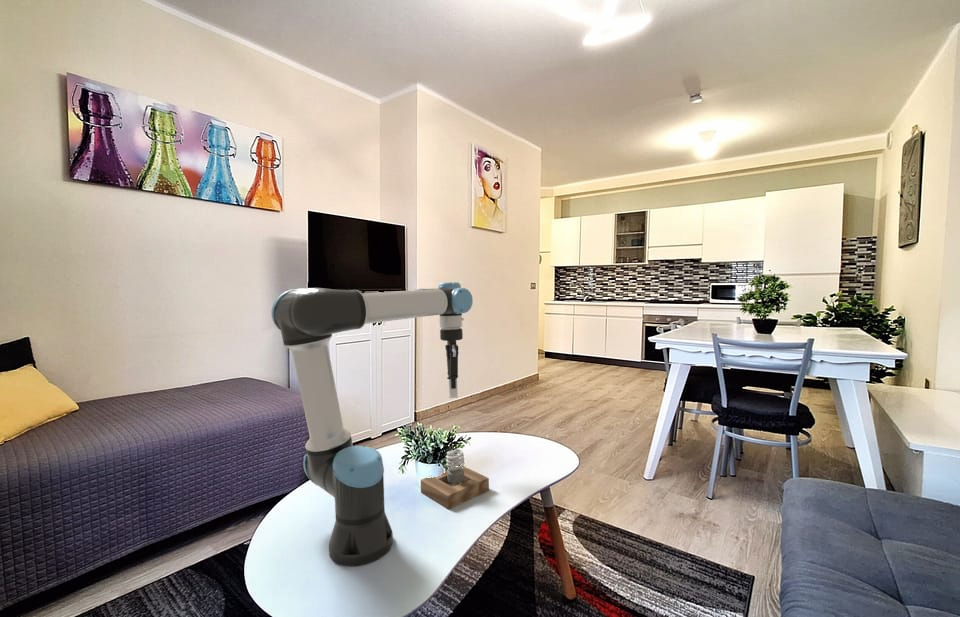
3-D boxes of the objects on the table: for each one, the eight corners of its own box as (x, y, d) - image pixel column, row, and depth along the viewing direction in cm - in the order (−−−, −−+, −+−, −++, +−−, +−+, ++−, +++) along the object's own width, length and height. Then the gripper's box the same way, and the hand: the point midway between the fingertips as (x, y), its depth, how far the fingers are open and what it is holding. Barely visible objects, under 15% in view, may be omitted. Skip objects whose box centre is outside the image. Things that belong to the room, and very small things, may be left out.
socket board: (448, 509, 119) (447, 495, 119) (420, 492, 130) (420, 479, 130) (489, 490, 130) (488, 478, 130) (460, 476, 140) (460, 464, 140)
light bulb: (449, 493, 126) (448, 454, 126) (445, 485, 132) (444, 447, 131) (467, 490, 128) (466, 451, 128) (462, 482, 133) (461, 445, 133)
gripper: (465, 329, 135) (467, 401, 136) (459, 326, 147) (461, 391, 149) (442, 330, 133) (444, 403, 134) (438, 327, 146) (440, 393, 147)
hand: (453, 397), depth 141 cm, fingers closed
